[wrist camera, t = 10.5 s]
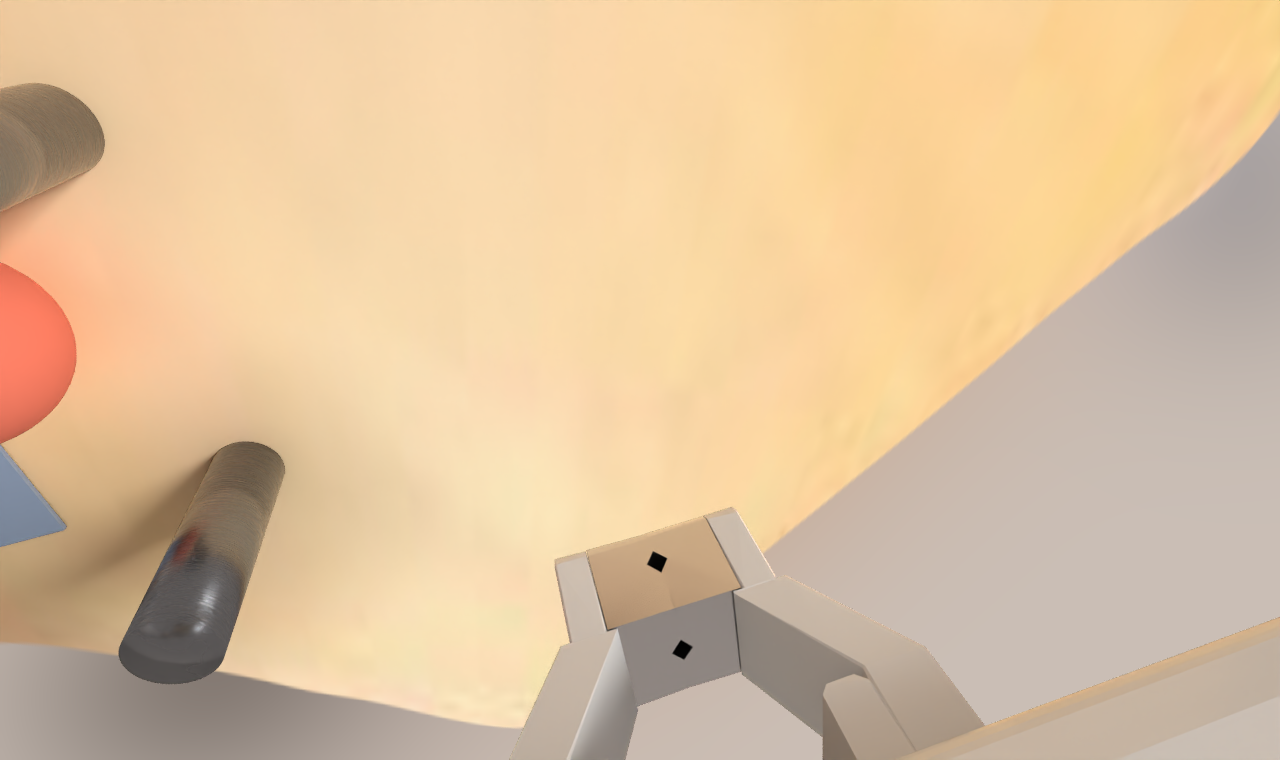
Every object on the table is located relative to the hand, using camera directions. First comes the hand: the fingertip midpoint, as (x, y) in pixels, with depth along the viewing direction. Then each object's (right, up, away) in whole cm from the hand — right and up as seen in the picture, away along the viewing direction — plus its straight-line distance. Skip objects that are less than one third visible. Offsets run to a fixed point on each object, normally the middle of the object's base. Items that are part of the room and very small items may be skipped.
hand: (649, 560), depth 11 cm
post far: (-16, -1, +16) cm, 23 cm away
